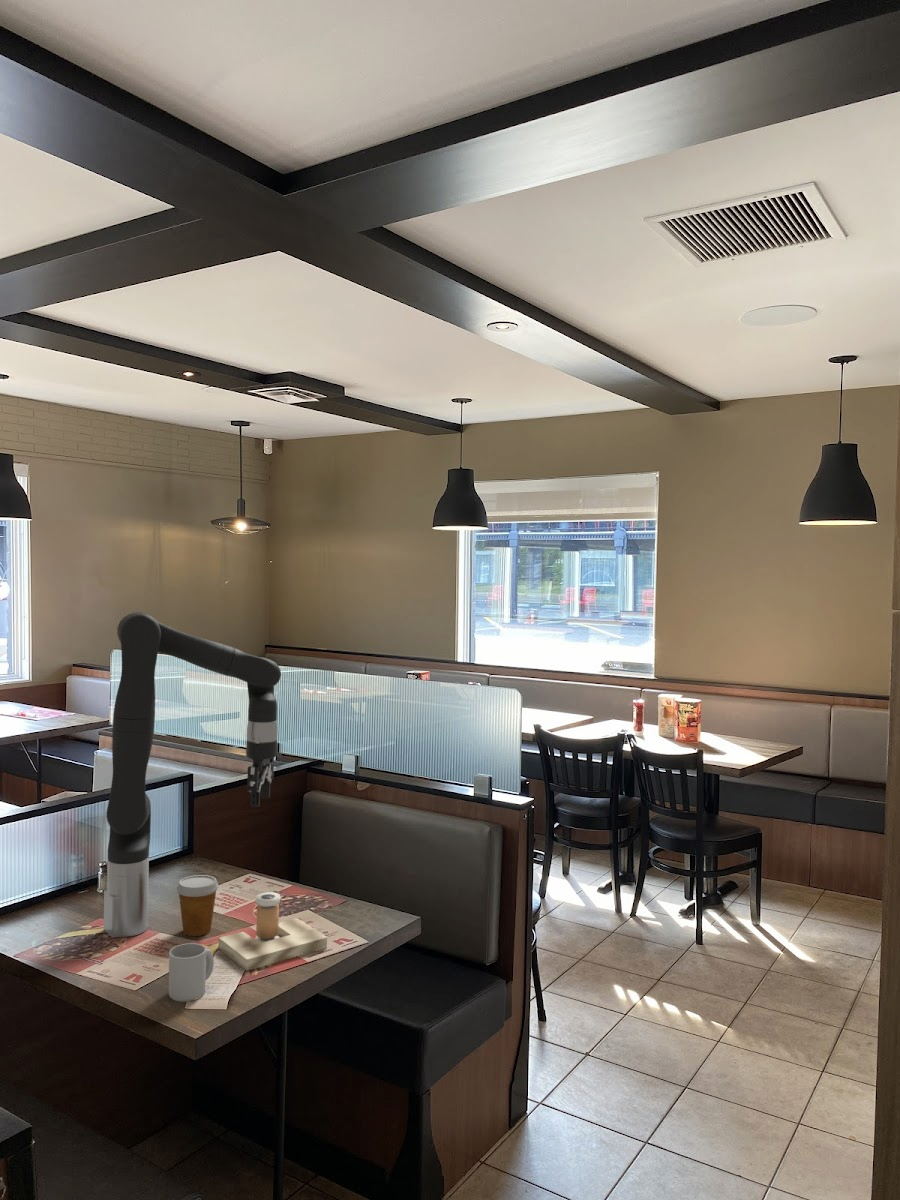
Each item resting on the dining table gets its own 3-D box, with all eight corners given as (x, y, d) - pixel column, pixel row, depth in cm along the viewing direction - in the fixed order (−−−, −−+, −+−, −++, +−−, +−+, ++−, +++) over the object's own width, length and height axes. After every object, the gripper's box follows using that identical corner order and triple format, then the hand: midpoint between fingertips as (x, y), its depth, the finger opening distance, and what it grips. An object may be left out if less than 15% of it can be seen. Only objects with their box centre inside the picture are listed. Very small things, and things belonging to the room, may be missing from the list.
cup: (161, 994, 183) (161, 951, 183) (201, 977, 191) (202, 936, 191) (183, 1006, 179) (183, 961, 178) (223, 988, 187) (224, 945, 186)
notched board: (246, 970, 195) (246, 959, 195) (218, 948, 206) (218, 937, 205) (326, 948, 207) (327, 937, 207) (296, 927, 218) (296, 917, 218)
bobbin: (261, 950, 205) (262, 903, 204) (250, 942, 209) (251, 895, 209) (283, 944, 208) (284, 897, 208) (272, 936, 213) (273, 890, 212)
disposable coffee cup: (226, 927, 217) (226, 878, 217) (199, 942, 209) (200, 891, 208) (194, 920, 221) (195, 871, 221) (167, 934, 213) (168, 883, 212)
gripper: (256, 732, 233) (254, 794, 234) (237, 742, 219) (236, 809, 220) (284, 733, 232) (282, 796, 233) (268, 744, 218) (266, 811, 219)
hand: (260, 802), depth 226 cm, fingers open, 8 cm apart
